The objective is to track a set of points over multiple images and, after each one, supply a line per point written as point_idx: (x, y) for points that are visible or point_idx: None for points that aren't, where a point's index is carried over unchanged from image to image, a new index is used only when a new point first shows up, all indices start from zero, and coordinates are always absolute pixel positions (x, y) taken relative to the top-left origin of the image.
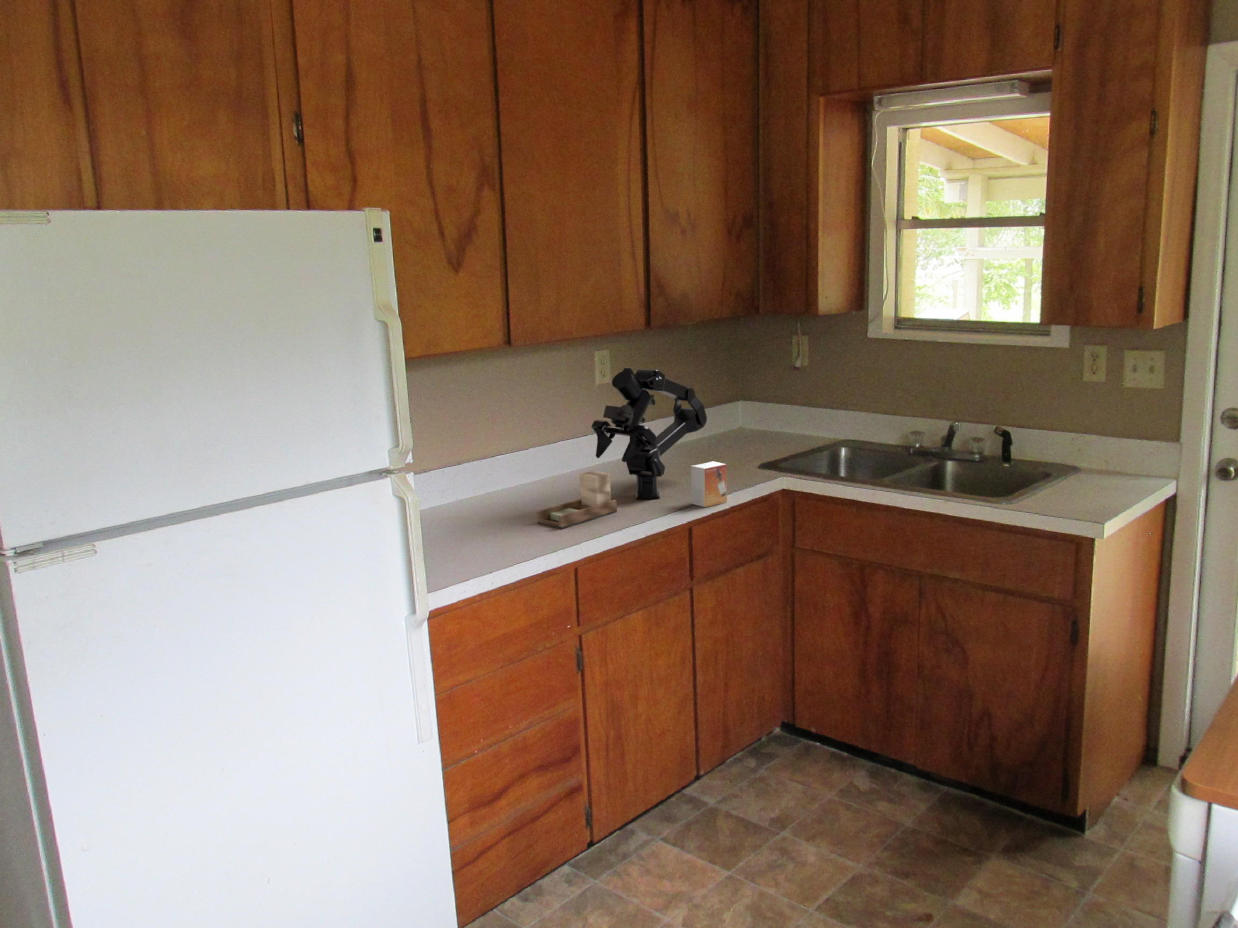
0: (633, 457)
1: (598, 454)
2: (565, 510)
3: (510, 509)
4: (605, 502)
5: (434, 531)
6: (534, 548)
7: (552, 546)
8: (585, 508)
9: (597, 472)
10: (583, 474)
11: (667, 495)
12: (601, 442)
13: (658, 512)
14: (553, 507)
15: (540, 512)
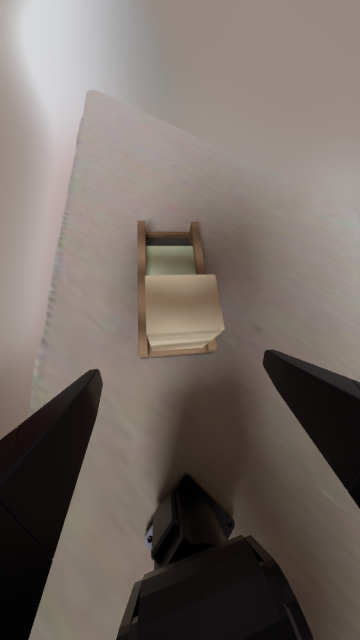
0: (226, 600)
1: (272, 361)
2: (187, 269)
3: (292, 261)
4: (144, 326)
5: (255, 165)
6: (103, 174)
7: (89, 187)
8: (143, 273)
9: (194, 321)
10: (206, 279)
11: None
12: (350, 405)
13: None
14: (196, 247)
15: (191, 224)
